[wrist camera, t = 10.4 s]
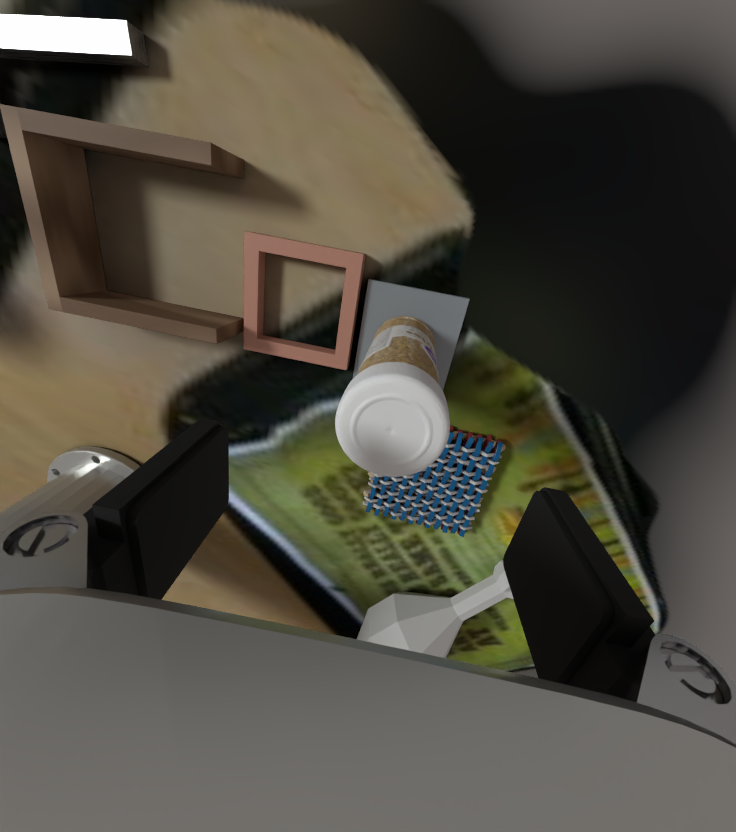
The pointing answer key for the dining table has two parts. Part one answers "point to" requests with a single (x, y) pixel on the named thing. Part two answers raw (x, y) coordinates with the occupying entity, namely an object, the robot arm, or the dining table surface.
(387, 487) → the woven mat
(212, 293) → the dining table surface
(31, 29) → the crook tool
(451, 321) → the slate tile
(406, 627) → the chicken leg
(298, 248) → the hole board
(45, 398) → the dining table surface
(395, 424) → the sprinkles bottle
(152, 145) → the walnut stall
